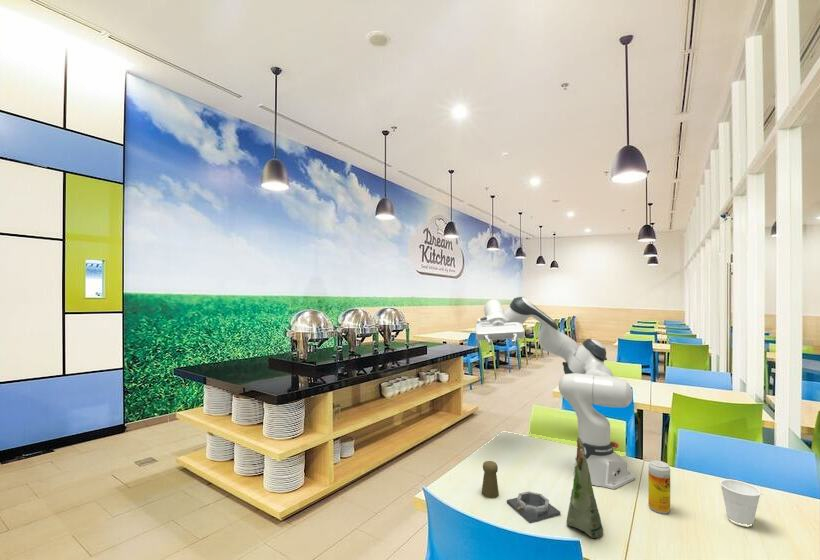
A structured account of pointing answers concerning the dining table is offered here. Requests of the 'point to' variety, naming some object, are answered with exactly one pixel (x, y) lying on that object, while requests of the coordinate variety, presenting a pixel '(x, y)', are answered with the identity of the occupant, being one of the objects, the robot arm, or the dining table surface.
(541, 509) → the hub socket
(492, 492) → the cork
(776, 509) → the dining table surface
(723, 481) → the cup
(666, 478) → the pill bottle
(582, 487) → the pouch
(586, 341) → the robot arm
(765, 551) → the dining table surface
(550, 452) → the dining table surface
